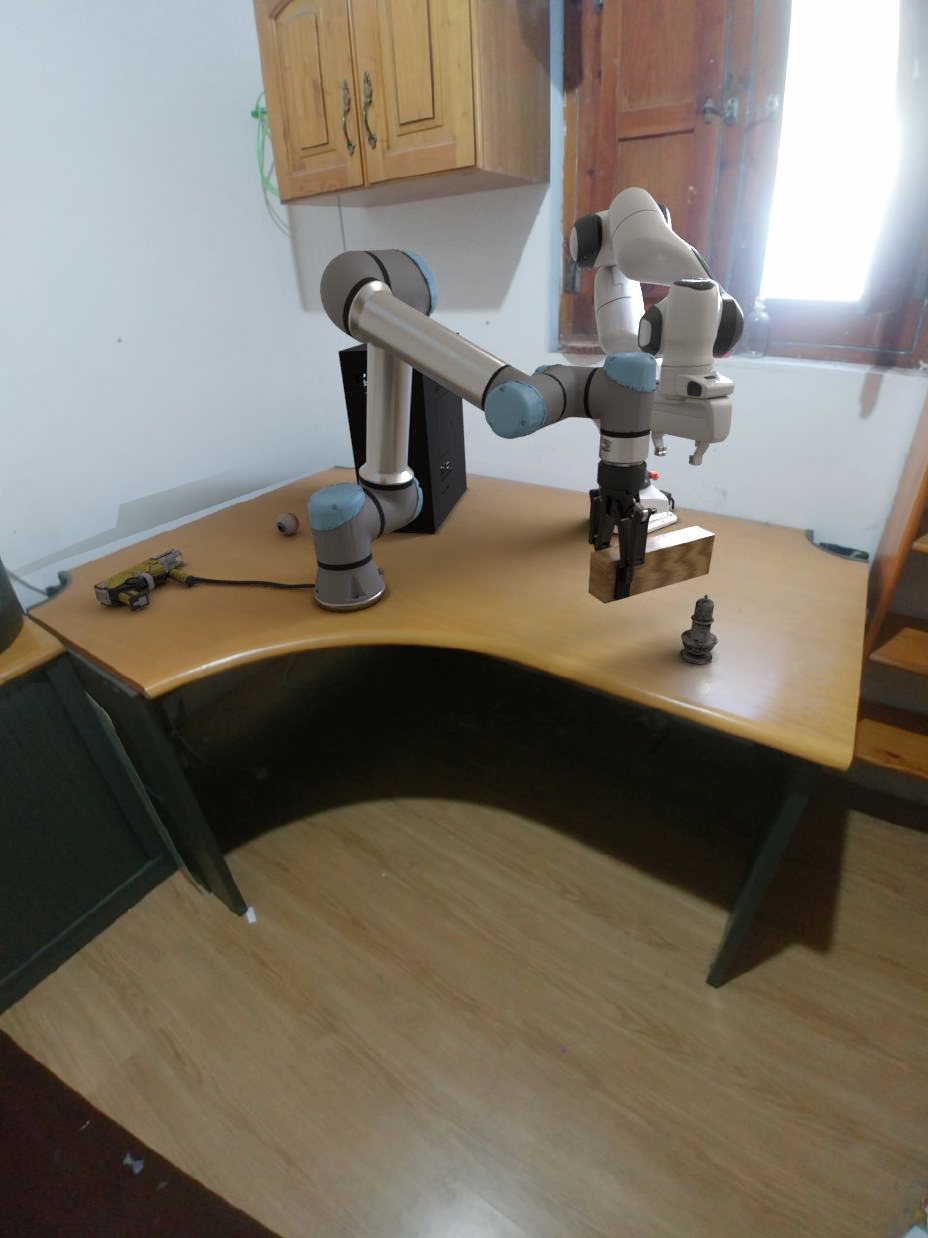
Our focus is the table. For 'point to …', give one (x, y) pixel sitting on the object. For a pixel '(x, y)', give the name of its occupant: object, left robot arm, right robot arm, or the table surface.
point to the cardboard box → (415, 438)
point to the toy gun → (141, 581)
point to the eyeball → (287, 523)
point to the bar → (654, 563)
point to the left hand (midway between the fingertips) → (611, 591)
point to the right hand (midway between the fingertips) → (676, 460)
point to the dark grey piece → (699, 634)
